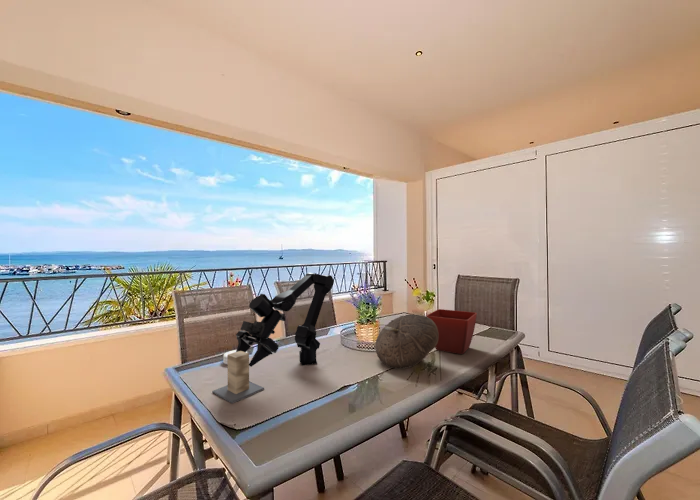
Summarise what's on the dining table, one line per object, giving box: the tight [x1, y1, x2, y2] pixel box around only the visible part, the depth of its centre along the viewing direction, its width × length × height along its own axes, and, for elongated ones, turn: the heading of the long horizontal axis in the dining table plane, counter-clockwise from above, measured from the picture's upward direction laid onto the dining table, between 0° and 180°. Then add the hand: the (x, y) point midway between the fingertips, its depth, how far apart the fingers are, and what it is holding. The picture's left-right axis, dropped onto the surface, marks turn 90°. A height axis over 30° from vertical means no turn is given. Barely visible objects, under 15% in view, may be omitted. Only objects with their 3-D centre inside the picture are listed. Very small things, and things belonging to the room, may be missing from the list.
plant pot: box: [426, 308, 478, 355], centre depth 145 cm, size 19×19×17 cm
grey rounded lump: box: [375, 314, 439, 369], centre depth 128 cm, size 28×23×25 cm
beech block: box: [227, 351, 250, 394], centre depth 102 cm, size 5×5×12 cm
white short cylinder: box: [222, 349, 248, 366], centre depth 131 cm, size 10×10×4 cm
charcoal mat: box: [212, 380, 265, 404], centre depth 102 cm, size 12×12×1 cm
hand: (242, 362), depth 103 cm, fingers open, 9 cm apart
